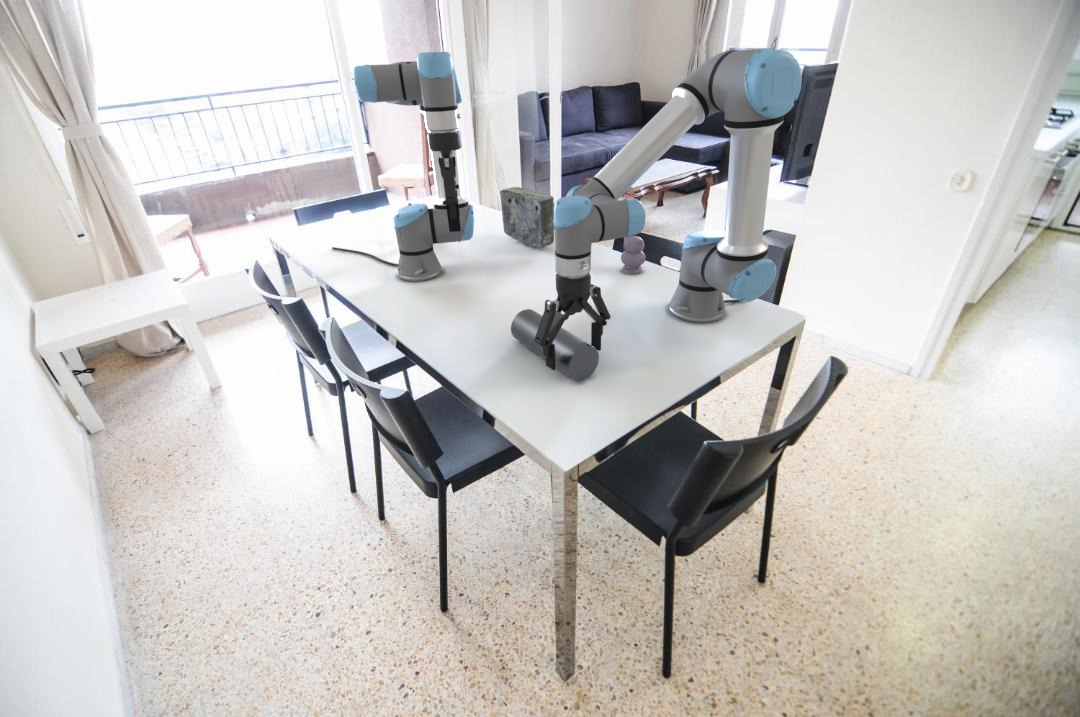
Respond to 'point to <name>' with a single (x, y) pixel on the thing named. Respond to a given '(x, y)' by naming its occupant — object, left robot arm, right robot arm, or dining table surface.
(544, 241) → the concrete block
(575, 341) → the rod
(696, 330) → the dining table surface
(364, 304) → the dining table surface
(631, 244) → the cat figurine
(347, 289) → the dining table surface
